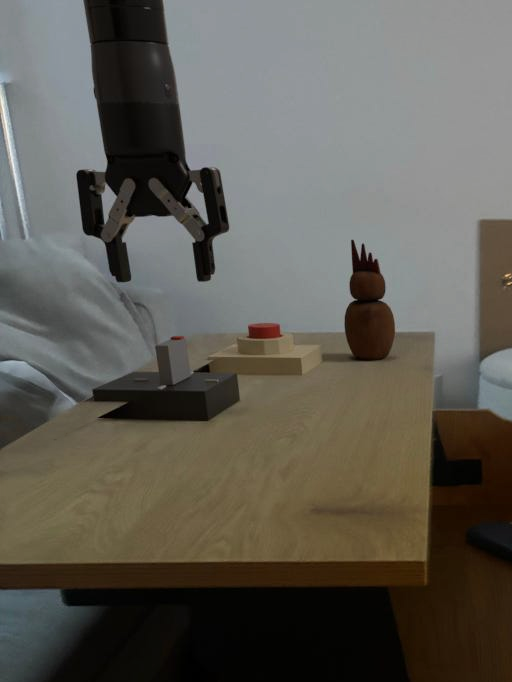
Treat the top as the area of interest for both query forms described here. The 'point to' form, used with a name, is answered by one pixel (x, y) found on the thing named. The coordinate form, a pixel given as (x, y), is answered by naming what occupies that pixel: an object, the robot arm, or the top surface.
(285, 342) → the stop box
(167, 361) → the gray flat block
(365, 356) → the wooden figurine
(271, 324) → the stop button
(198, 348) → the top surface
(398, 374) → the top surface
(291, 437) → the top surface
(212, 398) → the panel
